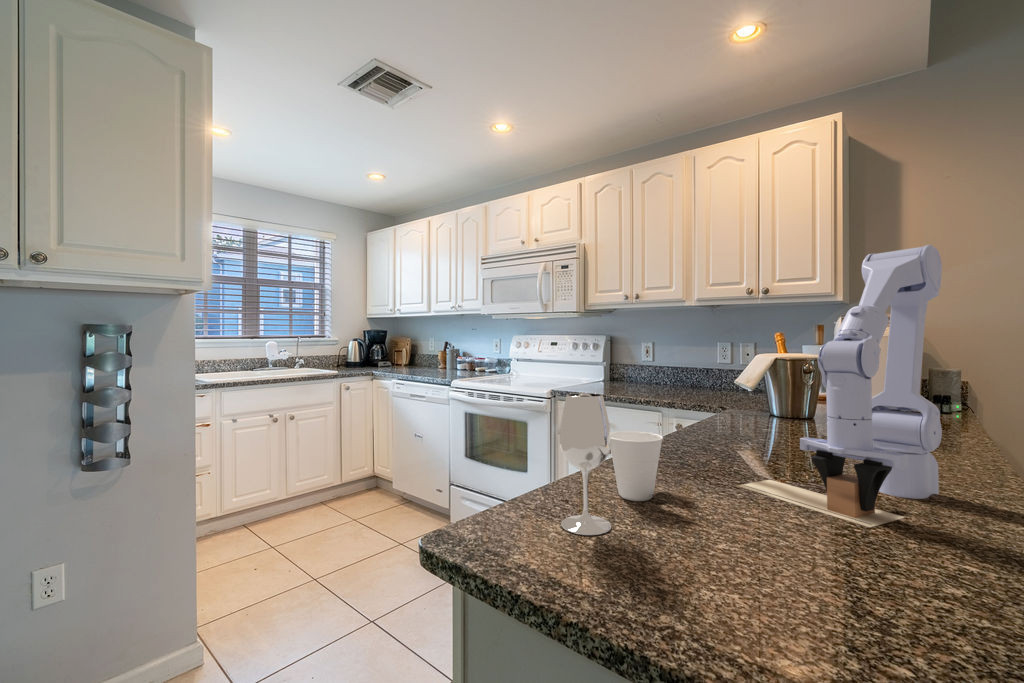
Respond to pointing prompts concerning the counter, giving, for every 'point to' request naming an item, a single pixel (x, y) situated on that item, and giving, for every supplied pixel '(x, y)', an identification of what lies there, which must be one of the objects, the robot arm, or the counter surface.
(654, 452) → the cup
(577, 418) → the wineglass
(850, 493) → the block
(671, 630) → the counter surface
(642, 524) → the counter surface
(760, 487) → the board
